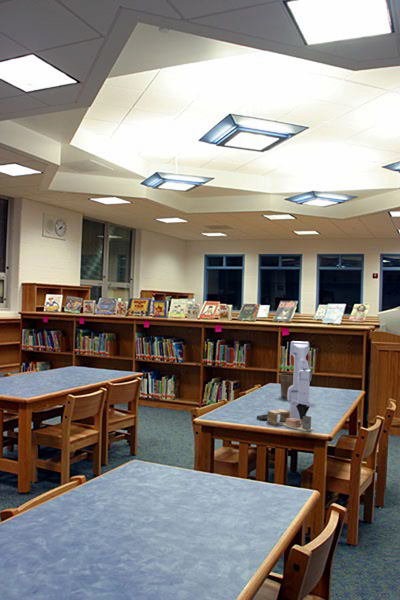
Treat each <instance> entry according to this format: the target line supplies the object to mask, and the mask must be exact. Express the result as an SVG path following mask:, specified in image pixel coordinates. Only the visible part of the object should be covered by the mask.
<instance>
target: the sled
mask: <svg viewBox="0 0 400 600" xmlns="http://www.w3.org/2000/svg"><path fill="white" fill-rule="evenodd" d="M277 425H279V426H283V427H287V428H290V429H294V430H297V431H302V432H310V431H314V428H313V427H312V416H311V415H307V414H306V416H303V420H300V419H296V418H287V419H286V422H284V421H281V422H277Z"/></svg>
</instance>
